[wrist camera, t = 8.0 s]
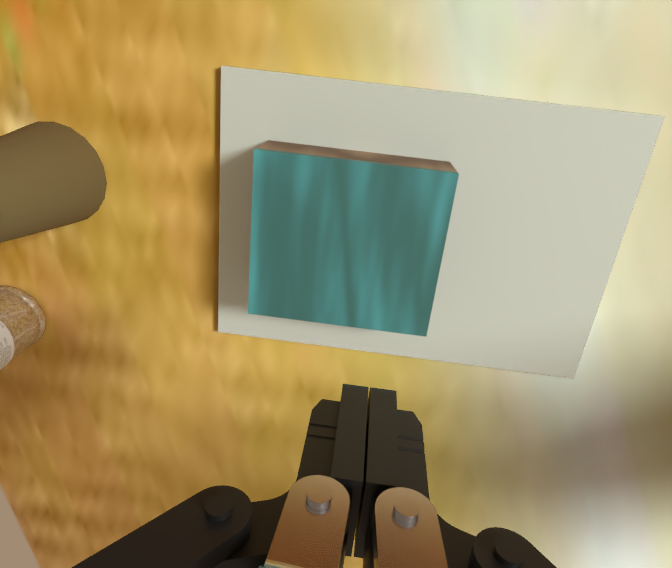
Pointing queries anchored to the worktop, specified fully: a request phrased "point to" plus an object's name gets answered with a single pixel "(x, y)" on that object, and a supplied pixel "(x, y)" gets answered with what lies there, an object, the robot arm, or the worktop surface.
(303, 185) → the teal and brown block
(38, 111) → the worktop surface
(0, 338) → the sprinkles bottle
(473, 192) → the sage mat
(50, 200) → the brown rounded upright piece
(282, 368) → the worktop surface
